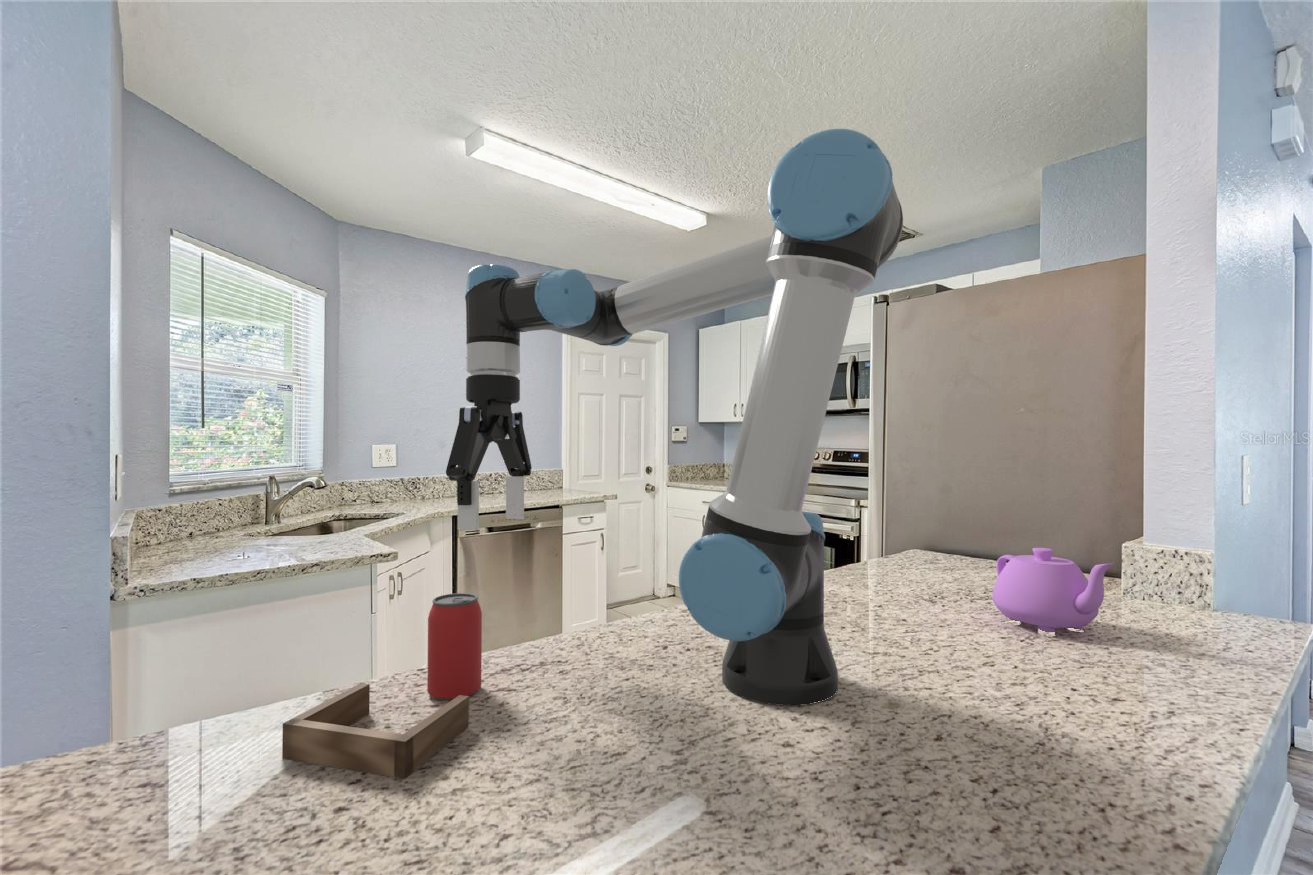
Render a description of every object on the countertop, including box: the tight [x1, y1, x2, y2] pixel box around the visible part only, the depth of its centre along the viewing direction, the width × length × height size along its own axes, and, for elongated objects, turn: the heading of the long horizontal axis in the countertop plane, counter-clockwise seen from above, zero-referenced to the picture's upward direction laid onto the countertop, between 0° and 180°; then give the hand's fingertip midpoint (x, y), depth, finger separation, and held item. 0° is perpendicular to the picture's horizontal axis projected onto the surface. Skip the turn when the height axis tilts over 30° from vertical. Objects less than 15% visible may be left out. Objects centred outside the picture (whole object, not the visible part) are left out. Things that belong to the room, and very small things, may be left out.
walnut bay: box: [281, 682, 470, 780], centre depth 64 cm, size 14×11×4 cm
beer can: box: [426, 592, 483, 702], centre depth 77 cm, size 7×7×12 cm
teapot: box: [992, 547, 1116, 633], centre depth 105 cm, size 22×16×14 cm
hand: (493, 524), depth 87 cm, fingers open, 12 cm apart
